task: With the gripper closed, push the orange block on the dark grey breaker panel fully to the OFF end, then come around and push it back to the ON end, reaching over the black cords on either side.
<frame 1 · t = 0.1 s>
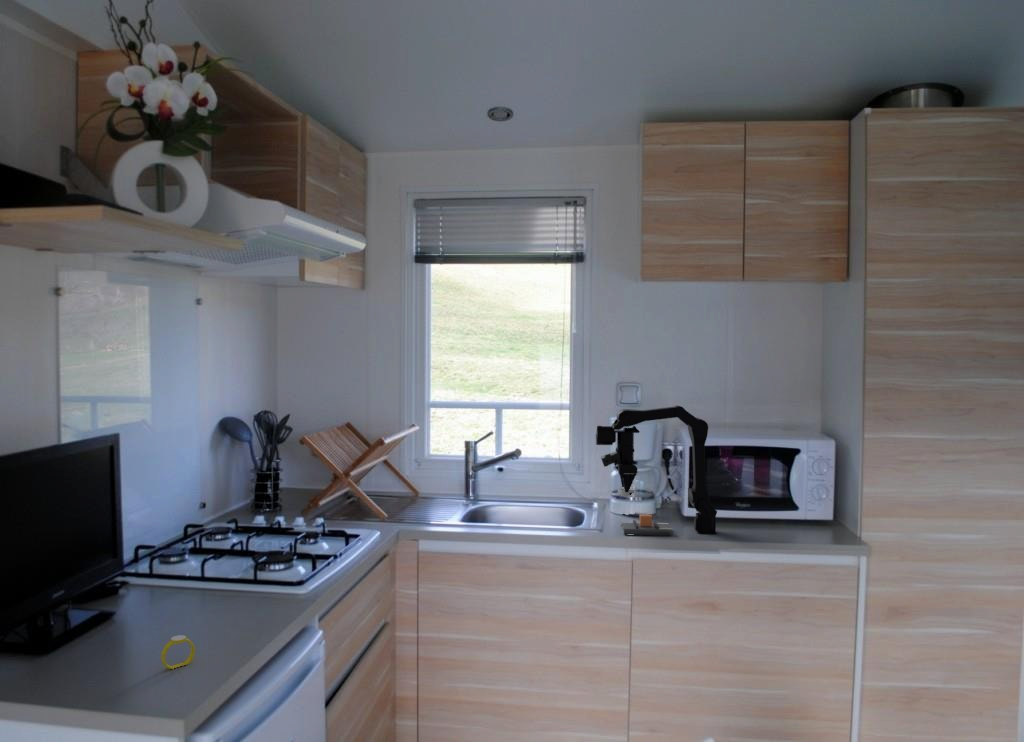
hand: (625, 489, 243), 15 cm above the worktop, tool pointing down, fingers open, 9 cm apart
panel: (645, 531, 242), on the worktop
cup: (628, 514, 269), on the worktop
cord near: (647, 535, 237), on the worktop
orange block: (645, 520, 242), point 4 cm above the worktop, slide at 2.5 cm
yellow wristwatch: (178, 667, 138), on the worktop
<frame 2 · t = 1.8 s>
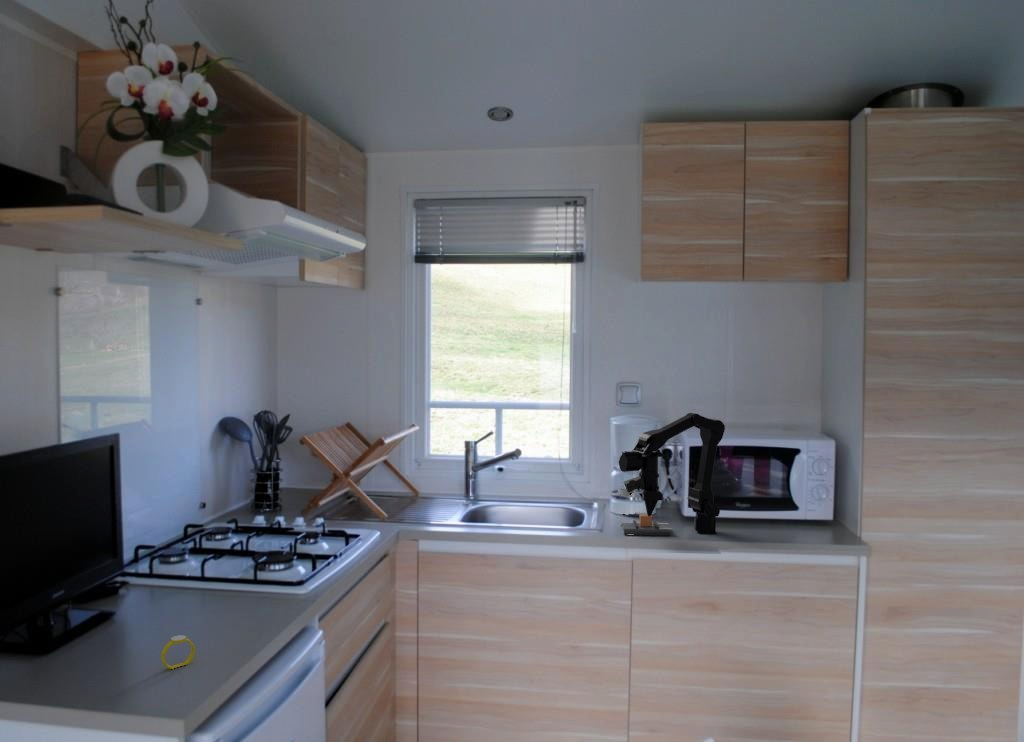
hand: (649, 515, 235), 7 cm above the worktop, tool pointing down, fingers closed
nothing on the worktop moved.
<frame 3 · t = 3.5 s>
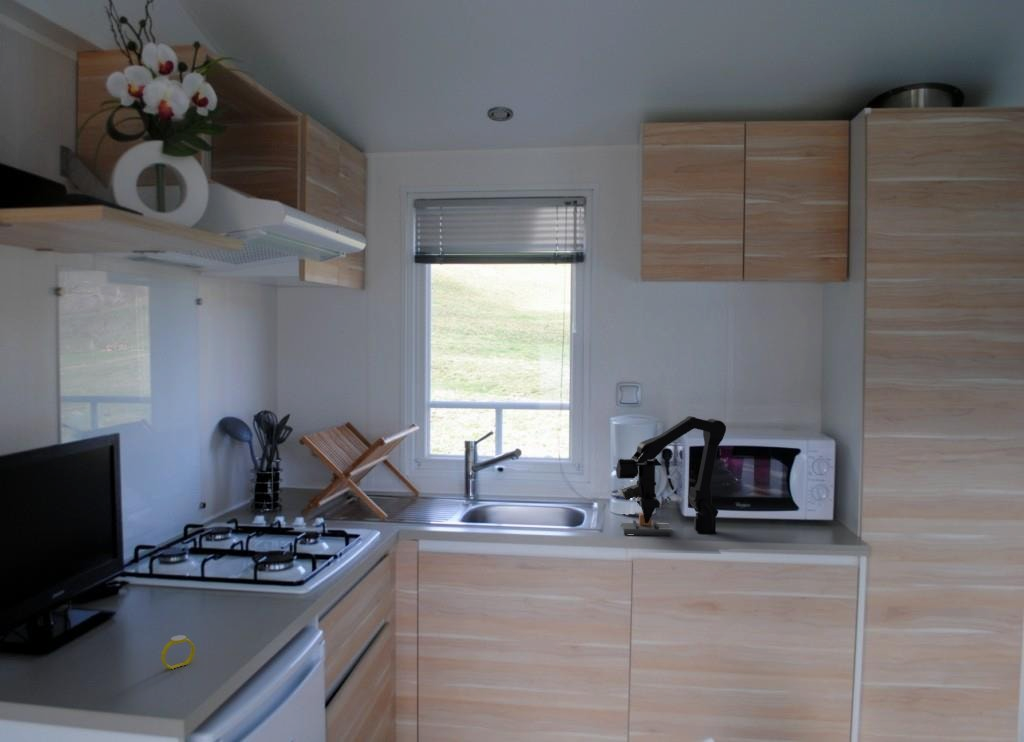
hand: (646, 523, 241), 3 cm above the worktop, tool pointing down, fingers closed
orange block: (645, 519, 243), point 4 cm above the worktop, slide at 1.1 cm, touching gripper
everything else where it was.
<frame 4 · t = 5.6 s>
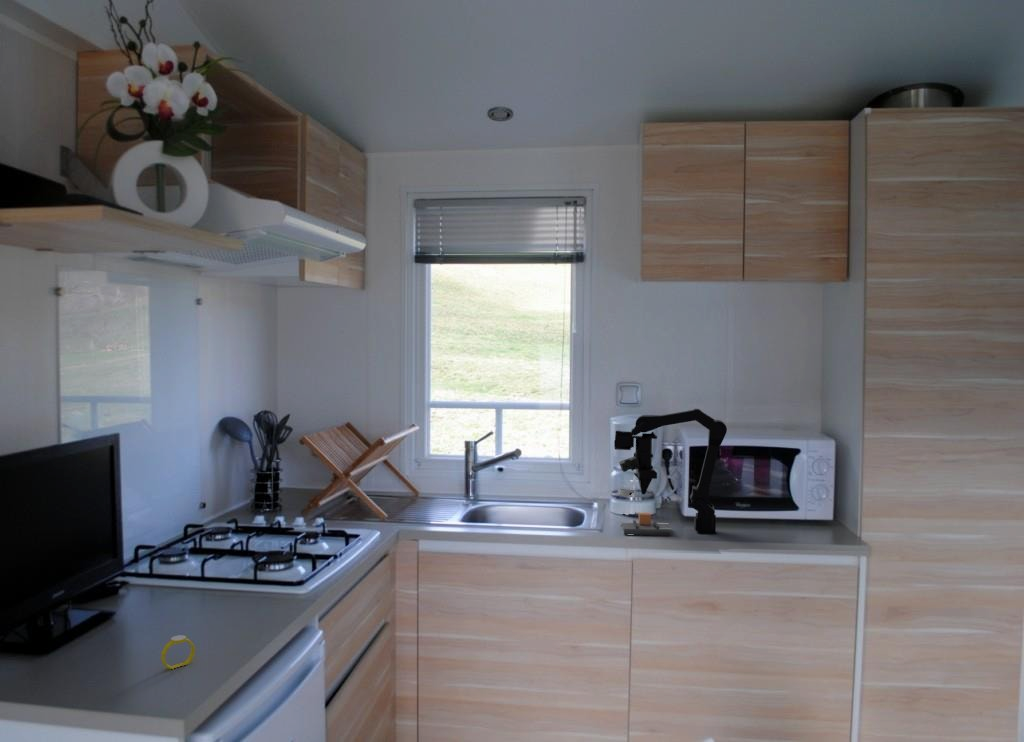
hand: (643, 494, 247), 12 cm above the worktop, tool pointing down, fingers closed
orange block: (644, 518, 245), point 4 cm above the worktop, slide at 0.0 cm
everything else where it was.
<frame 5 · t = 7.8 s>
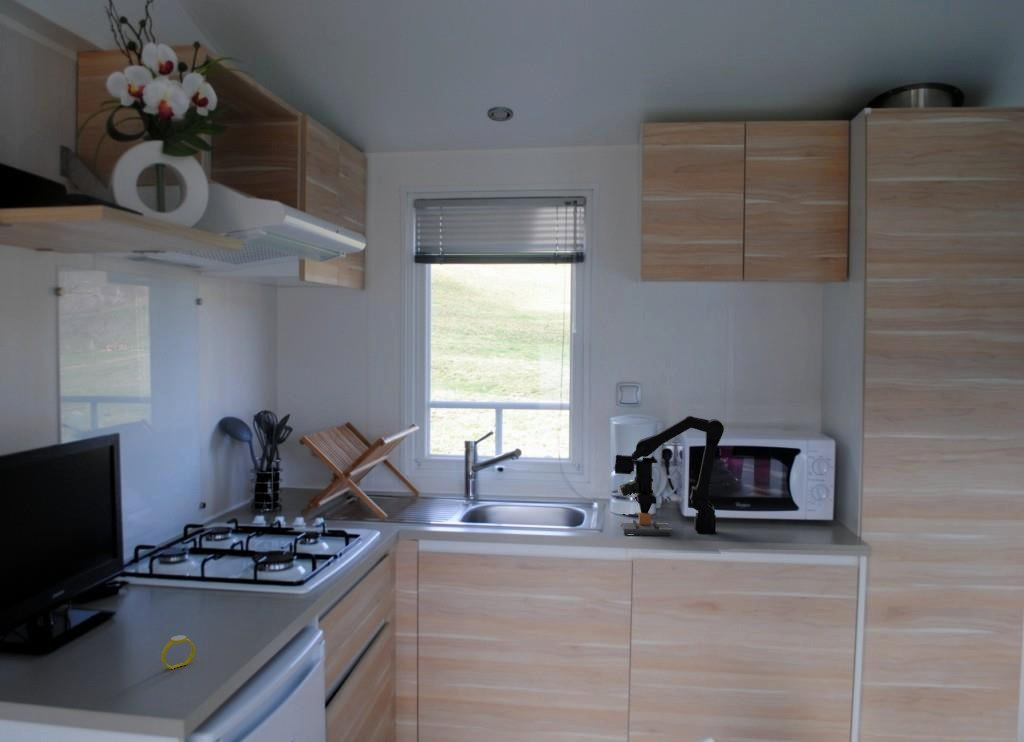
hand: (643, 518, 247), 3 cm above the worktop, tool pointing down, fingers closed
orange block: (644, 518, 245), point 4 cm above the worktop, slide at 0.0 cm, touching gripper
everything else where it was.
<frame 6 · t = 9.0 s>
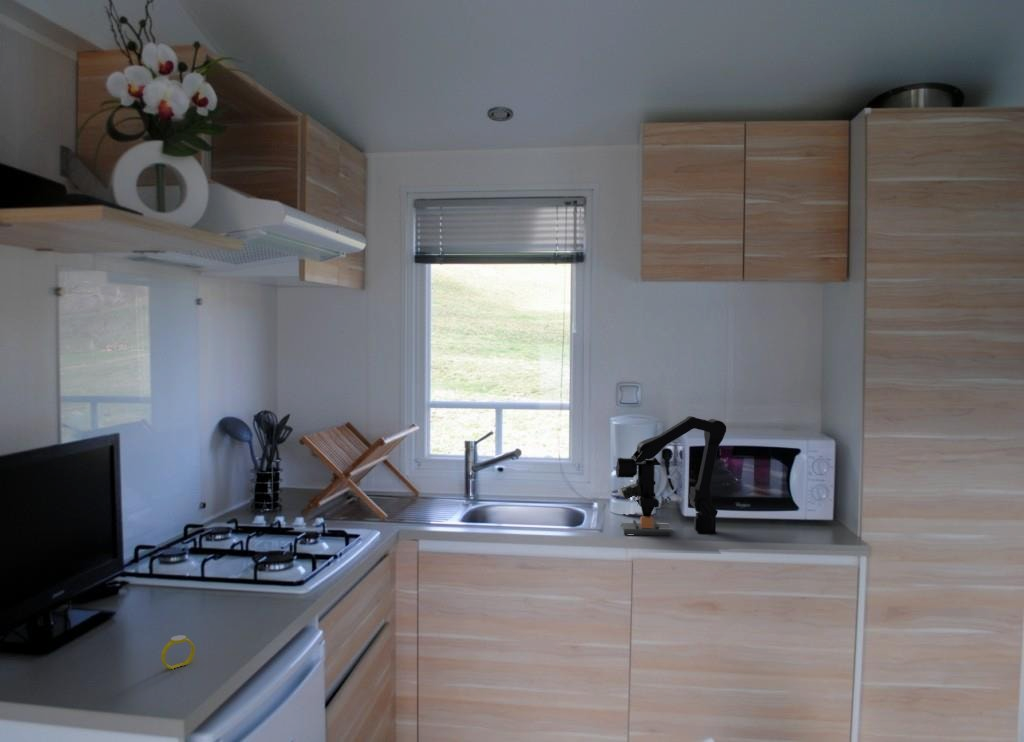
hand: (645, 521, 242), 3 cm above the worktop, tool pointing down, fingers closed
orange block: (646, 522, 240), point 4 cm above the worktop, slide at 5.1 cm, touching gripper
everything else where it was.
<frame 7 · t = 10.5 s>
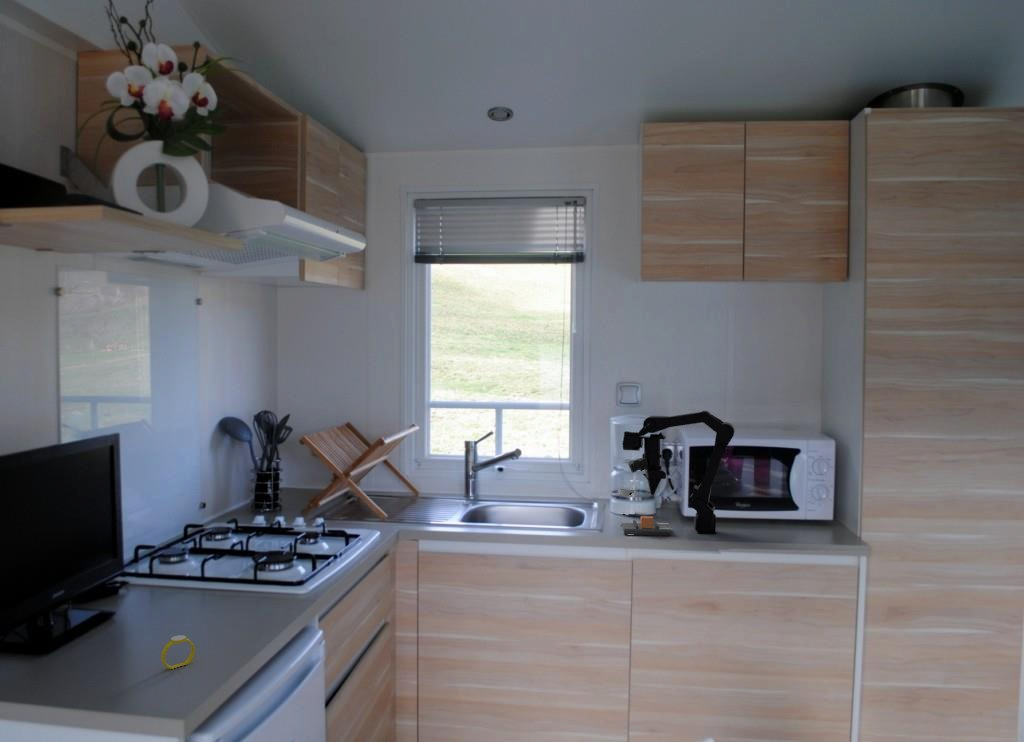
hand: (652, 494, 248), 12 cm above the worktop, tool pointing down, fingers closed
orange block: (646, 522, 240), point 4 cm above the worktop, slide at 5.0 cm
everything else where it was.
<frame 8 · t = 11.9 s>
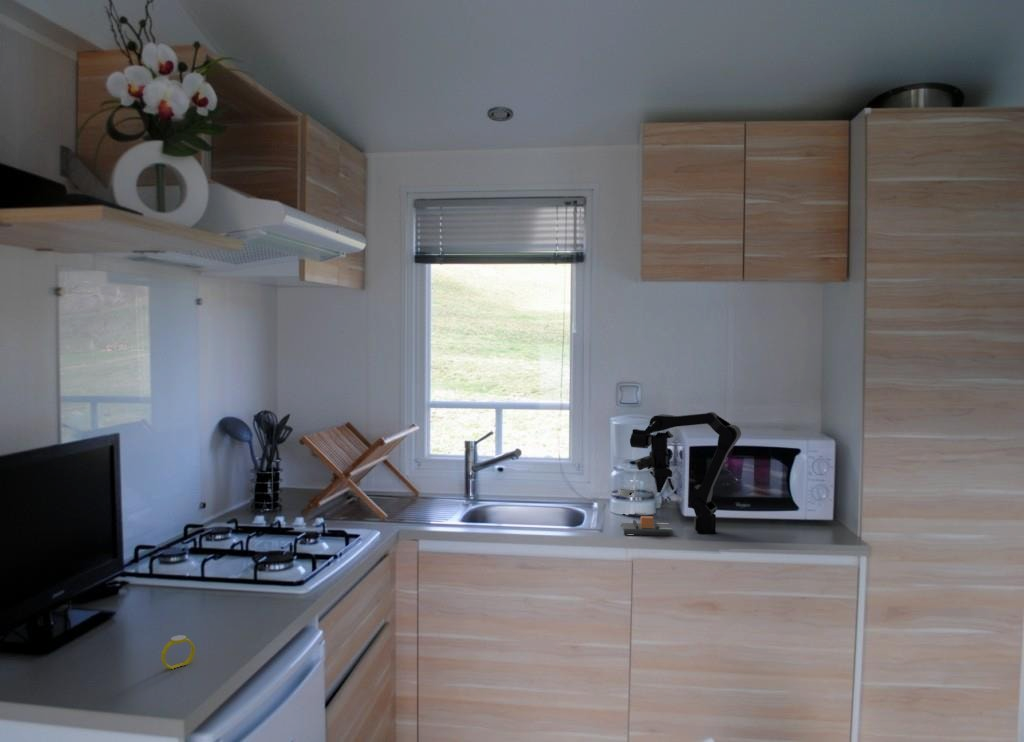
hand: (658, 492, 251), 12 cm above the worktop, tool pointing down, fingers closed
nothing on the worktop moved.
at the end: orange block slide at 5.0 cm; orange block touching nothing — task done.
